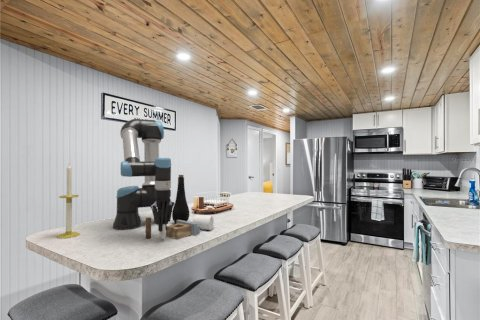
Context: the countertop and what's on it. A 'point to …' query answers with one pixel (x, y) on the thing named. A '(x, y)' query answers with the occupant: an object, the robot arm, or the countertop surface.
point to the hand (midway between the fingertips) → (162, 237)
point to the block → (178, 230)
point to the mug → (204, 221)
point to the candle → (69, 207)
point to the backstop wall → (194, 227)
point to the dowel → (148, 228)
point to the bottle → (180, 203)
